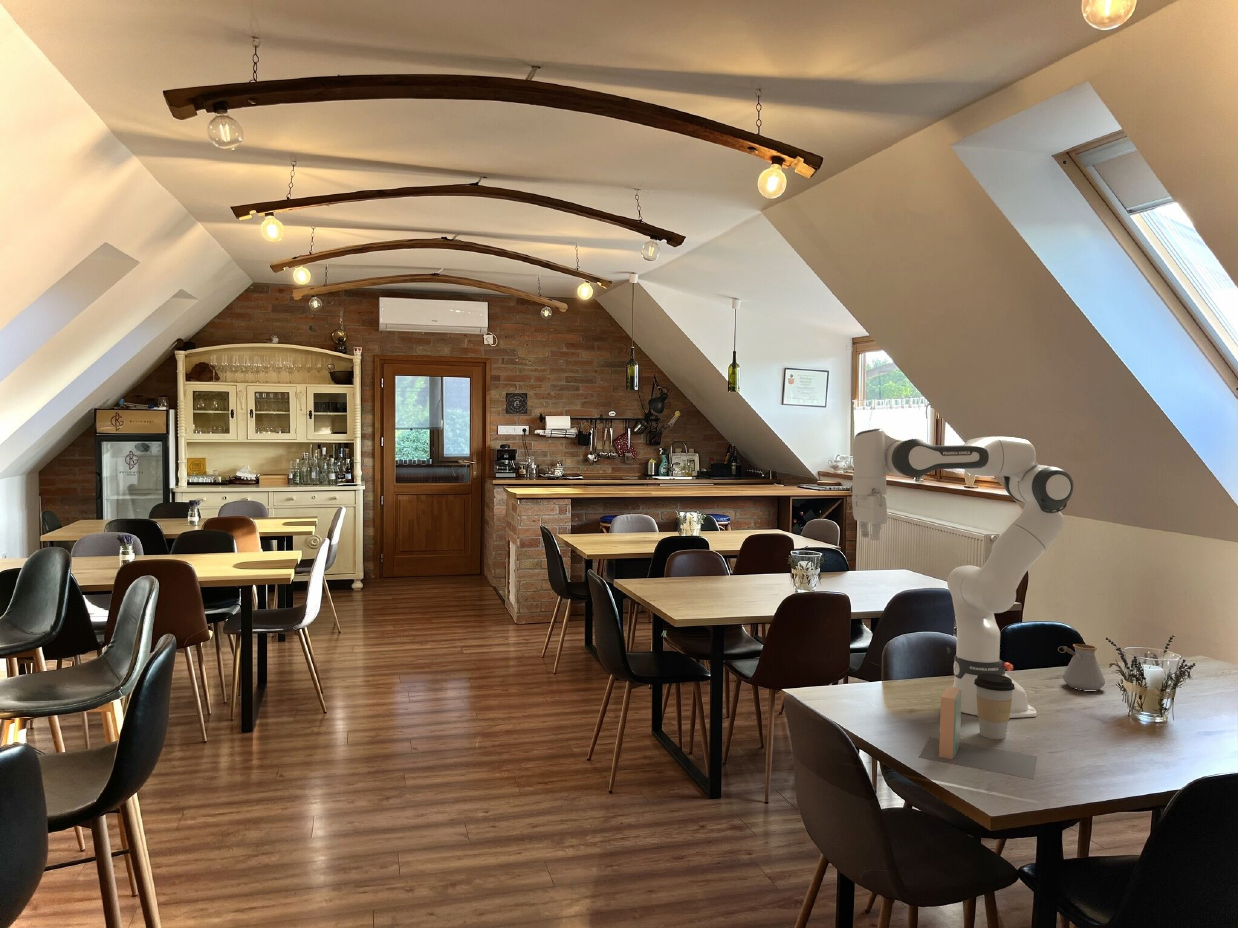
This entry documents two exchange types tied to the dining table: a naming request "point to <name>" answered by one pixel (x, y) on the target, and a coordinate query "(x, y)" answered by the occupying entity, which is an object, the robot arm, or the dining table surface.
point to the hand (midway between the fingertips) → (869, 538)
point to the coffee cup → (993, 704)
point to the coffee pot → (1083, 668)
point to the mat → (984, 759)
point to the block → (950, 722)
